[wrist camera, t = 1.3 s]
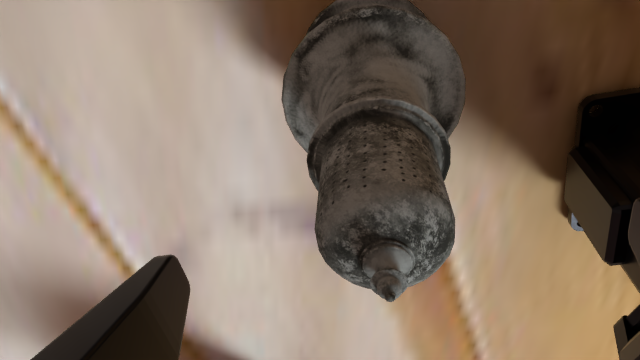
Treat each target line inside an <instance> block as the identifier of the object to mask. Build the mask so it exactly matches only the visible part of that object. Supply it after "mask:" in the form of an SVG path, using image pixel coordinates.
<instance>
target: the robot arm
mask: <svg viewBox="0 0 640 360" xmlns="http://www.w3.org/2000/svg"><path fill="white" fill-rule="evenodd" d="M595 105H599V106H598V109H597V110H596V111H594V112H591V113H589V111H590V109H591V108H592V107H593V106H595ZM564 201H565V202H566V204H567V206H568V207H569V209H568V222H569V224H570V225H571V227H572V228H573V229H574V230H576V231H584V232H585V233H586V235H587V237H588V238H589V240H590V241H591V243H592V244H593V246H594V247H595V249H596V250H597V252H598V254H599V255H600V257H601V258H602V260H603V261H604V262H606V263H607V264H608V265H610V266H613V265H621V267H622V268H623V270H624V271H625V272H626V274H627V275H628V277H629V278H630V280H631V281H632V283H633V284H634V286H635V287H636V289H637V290H638V292H639V293H640V87H639V88H633V89H627V90H620V91H614V92H608V93H602V94H595V95H591V96H588V97H586V98H585V99H583V100H582V102H581V103H580V104H579V107H578V114H577V125H576V136H575V146H574V147H573V148H572V149H571V150H570V152H569V153H568V160H567V171H566V183H565V194H564ZM189 296H190V284H189V281H188V279H187V277H186V275H185V273H184V271H183V269H182V267H181V265H180V263H179V261H178V259H177V257H175V256H174V255H164V256H157V257H154V258H153V259H152V260H150V261H149V262H148V263H147V264H145V265H144V266H143V267H142V268H141V269H139V270H138V271H137V272H136V273H135V274H133V275H132V276H131V277H130V278H129V279H127V280H126V281H125V282H124V283H123V284H121V285H120V286H119V287H118V288H117V289H115V290H114V291H113V292H112V293H110V294H109V295H108V296H107V297H106V298H104V299H103V300H102V301H101V302H100V303H98V304H97V305H96V306H95V307H94V308H92V309H91V310H90V311H89V312H88V313H86V314H85V315H84V316H83V317H81V318H80V319H79V320H78V321H77V322H75V323H74V324H73V325H72V326H71V327H69V328H68V329H67V330H66V331H65V332H63V333H62V334H61V335H60V336H59V337H57V338H56V339H55V340H54V341H53V342H51V343H50V344H49V345H48V346H46V347H45V348H44V349H43V350H42V351H40V352H39V353H38V354H37V355H36V356H34V357H33V358H32V359H31V360H179V355H180V350H181V344H182V338H183V332H184V326H185V320H186V314H187V308H188V302H189ZM613 328H614V333H615V338H616V343H617V349H618V354H619V360H640V304H639V305H638V306H637V307H636V308H635V309H634V310H633V311H632V312H631V313H630V314H629V315H628V316H626V315H624V316H623V317H622V318H621V319H620V320H619V321H618V322H617V323H616V324H615V325H614V326H613Z"/></svg>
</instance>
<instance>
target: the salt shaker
mask: <svg viewBox="0 0 640 360" xmlns="http://www.w3.org/2000/svg"><path fill="white" fill-rule="evenodd" d="M282 103H283V108H284V113H285V118H286V122H287V124H288V126H289V128H290V130H291V132H292V134H293V136H294V138H295V139H296V141H297V142H298V143H299V144H300V145H301V146H302V147H303V148H304V150H305V151H306V152H307V153H308V155H307V165H308V170H309V176H310V178H311V180H312V182H313V184H314V185H315V187H316V189H317V190H318V202H317V212H316V221H315V233H316V238H317V243H318V248H319V251H320V253H321V255H322V257H323V258H324V260H325V262H326V263H327V264H328V265H329V266H330V267H331V268H332V269H333V270H334V271H335V272H336V273H337V274H338V275H340V276H341V277H342V278H344V279H346V280H348V281H349V282H351V283H353V284H355V285H358V286H361V287H364V288H367V289H372V290H373V291H374V292H375V293H376V294H378V295H379V296H380V297H381V298H384V299H385V300H386V301H388V302H392V301H394V300H395V299H396V298H398V297H399V296H400V295H401V294H402V293H403V292H404V291H405V290H406V289H407V287H410V286H413V285H415V284H417V283H420V282H422V281H424V280H425V279H427V278H428V277H429V276H431V275H432V274H433V273H435V272H436V271H437V270H438V269H439V268H440V267H441V265H442V264H443V263H444V262H445V260H446V259H447V258H448V257H449V255H450V253H451V250H452V247H453V245H454V239H455V217H454V214H453V210H452V207H451V204H450V200H449V197H448V194H447V190H446V187H445V184H444V180H445V179H446V176H447V172H448V169H449V166H450V145H449V142H448V138H449V137H450V135H451V134H452V132H453V130H454V129H455V127H456V126H457V124H458V122H459V119H460V115H461V112H462V109H463V106H464V103H465V76H464V72H463V68H462V65H461V61H460V57H459V55H458V54H457V52H456V51H455V49H454V47H453V46H452V44H451V43H450V41H449V39H448V38H447V36H446V35H445V34H444V33H443V32H441V31H440V30H439V29H438V28H437V27H436V26H434V25H433V24H432V23H431V22H430V21H429V20H427V18H426V17H425V15H424V14H423V13H422V12H421V11H420V10H419V9H418V8H416V7H415V6H414V5H413V4H412V3H411V2H409V1H407V0H336V1H335V2H333V3H332V4H331V5H329V6H328V7H327V8H326V9H324V10H323V11H322V12H321V13H320V14H319V15H318V16H317V18H316V19H315V21H314V22H313V23H312V25H311V26H310V27H309V29H308V32H307V34H306V36H305V38H304V39H303V40H302V42H301V43H300V44H299V46H298V47H297V48H296V50H295V51H294V52H293V54H292V56H291V59H290V61H289V64H288V67H287V69H286V72H285V74H284V78H283V90H282Z"/></svg>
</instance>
